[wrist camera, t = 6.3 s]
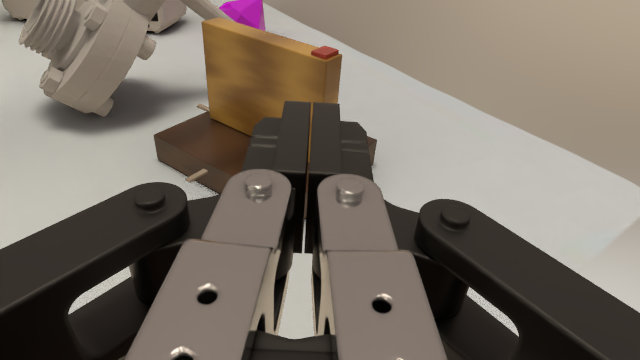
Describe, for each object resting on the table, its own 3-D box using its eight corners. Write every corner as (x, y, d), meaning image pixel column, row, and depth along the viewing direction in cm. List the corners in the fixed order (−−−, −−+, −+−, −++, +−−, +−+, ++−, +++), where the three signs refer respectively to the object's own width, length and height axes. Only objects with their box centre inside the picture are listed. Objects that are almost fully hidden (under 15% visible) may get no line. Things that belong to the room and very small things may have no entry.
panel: (121, 165, 30) (115, 138, 29) (261, 101, 40) (260, 78, 39) (279, 261, 24) (280, 231, 23) (399, 157, 34) (404, 132, 32)
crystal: (225, 31, 56) (223, -7, 53) (267, 35, 56) (267, -3, 53) (214, 44, 52) (211, 3, 49) (260, 48, 52) (260, 7, 49)
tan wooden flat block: (209, 117, 33) (200, 17, 28) (225, 110, 34) (219, 12, 30) (318, 167, 28) (326, 57, 24) (332, 157, 29) (343, 50, 25)
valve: (222, 197, 44) (324, 81, 40) (-6, 99, 30) (117, -89, 26) (200, 140, 51) (285, 37, 47) (7, 40, 37) (105, -116, 33)
